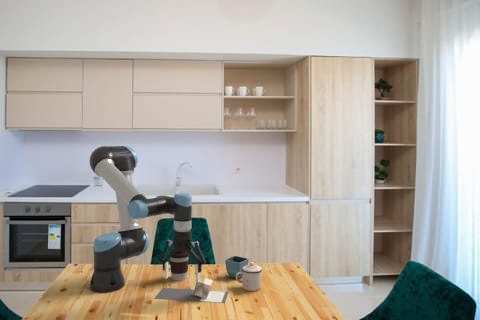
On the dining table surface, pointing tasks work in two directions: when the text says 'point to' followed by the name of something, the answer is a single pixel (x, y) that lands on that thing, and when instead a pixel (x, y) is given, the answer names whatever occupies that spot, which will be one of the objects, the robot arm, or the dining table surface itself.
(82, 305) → the dining table surface
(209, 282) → the birch cube
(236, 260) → the flower pot
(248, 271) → the teacup with lid
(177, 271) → the coffee cup
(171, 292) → the charcoal mat
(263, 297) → the dining table surface
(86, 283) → the dining table surface
